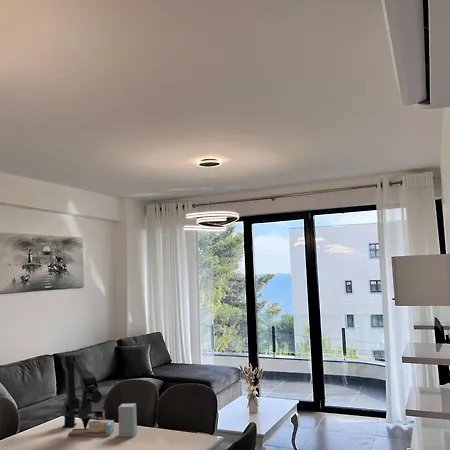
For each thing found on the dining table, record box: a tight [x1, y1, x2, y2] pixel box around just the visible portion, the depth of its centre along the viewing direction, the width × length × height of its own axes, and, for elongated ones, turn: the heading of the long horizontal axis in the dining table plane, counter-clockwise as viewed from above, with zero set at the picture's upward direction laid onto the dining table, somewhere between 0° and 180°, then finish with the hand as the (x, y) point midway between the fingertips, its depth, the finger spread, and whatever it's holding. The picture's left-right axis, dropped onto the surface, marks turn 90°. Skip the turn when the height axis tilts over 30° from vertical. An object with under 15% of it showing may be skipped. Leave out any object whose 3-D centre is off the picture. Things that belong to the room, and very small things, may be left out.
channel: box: [67, 427, 115, 438], centre depth 248 cm, size 9×22×2 cm, turn 92°
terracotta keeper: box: [98, 419, 110, 432], centre depth 249 cm, size 4×5×5 cm
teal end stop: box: [106, 419, 115, 434], centre depth 249 cm, size 9×2×4 cm, turn 2°
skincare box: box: [117, 402, 138, 438], centre depth 246 cm, size 8×7×16 cm
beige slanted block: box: [88, 419, 101, 432], centre depth 249 cm, size 4×5×5 cm
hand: (85, 429), depth 248 cm, fingers closed
